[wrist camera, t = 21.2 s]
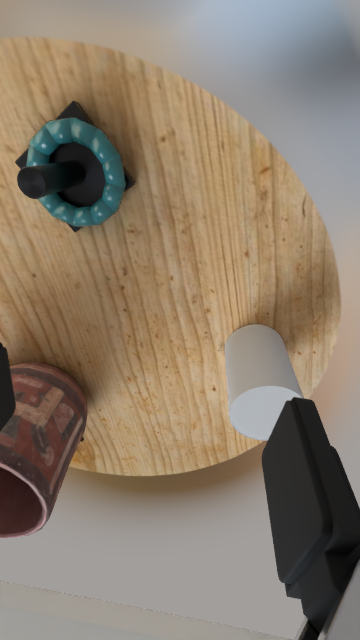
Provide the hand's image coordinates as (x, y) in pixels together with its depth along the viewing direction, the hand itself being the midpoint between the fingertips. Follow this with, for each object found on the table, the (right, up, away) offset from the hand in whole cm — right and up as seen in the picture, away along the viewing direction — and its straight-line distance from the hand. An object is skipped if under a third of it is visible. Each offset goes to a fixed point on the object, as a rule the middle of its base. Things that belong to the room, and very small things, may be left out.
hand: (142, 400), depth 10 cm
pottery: (-21, -9, +41) cm, 46 cm away
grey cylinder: (+12, -1, +33) cm, 35 cm away
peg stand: (-10, +19, +23) cm, 31 cm away
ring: (-9, +17, +21) cm, 29 cm away
